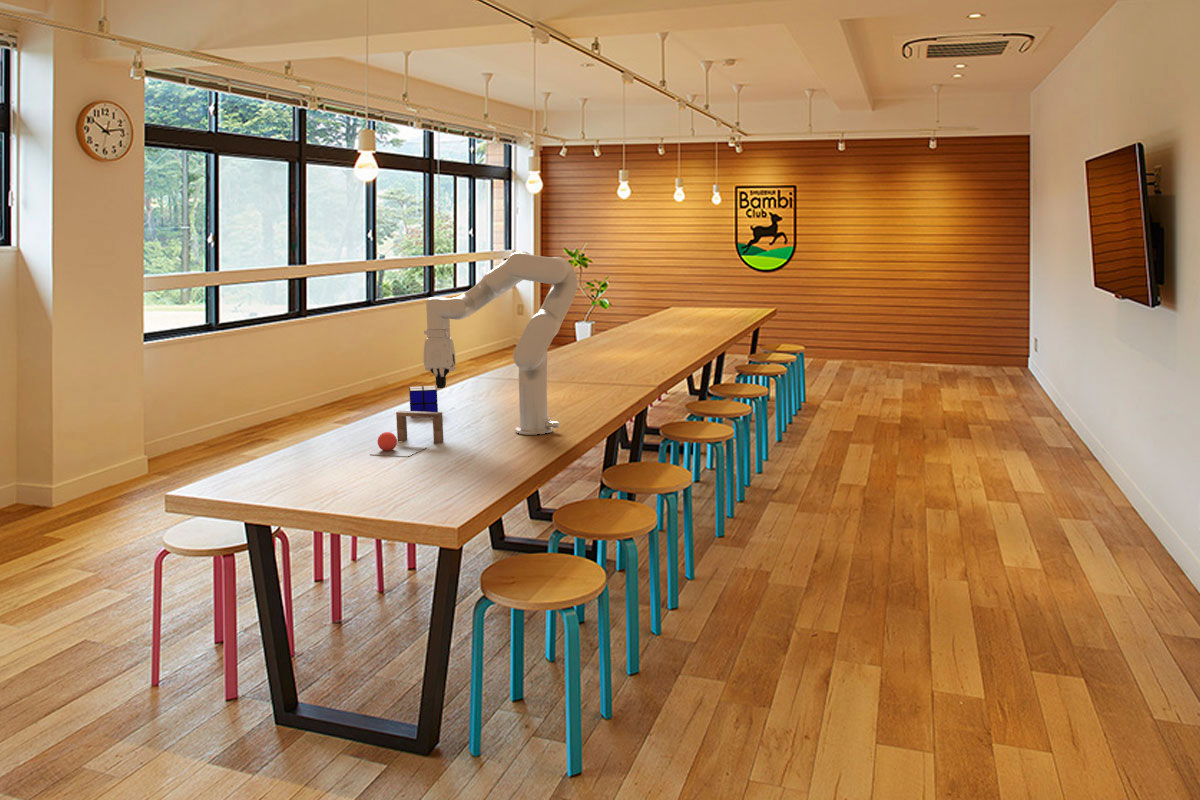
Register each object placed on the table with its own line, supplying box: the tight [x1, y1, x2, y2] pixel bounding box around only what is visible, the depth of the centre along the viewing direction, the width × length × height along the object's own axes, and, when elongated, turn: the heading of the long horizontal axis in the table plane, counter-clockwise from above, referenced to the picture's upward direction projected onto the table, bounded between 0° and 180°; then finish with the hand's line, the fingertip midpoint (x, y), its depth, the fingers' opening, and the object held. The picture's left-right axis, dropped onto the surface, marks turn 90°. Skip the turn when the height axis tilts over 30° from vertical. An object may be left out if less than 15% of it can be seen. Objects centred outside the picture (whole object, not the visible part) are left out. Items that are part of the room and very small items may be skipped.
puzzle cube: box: [408, 385, 439, 412], centre depth 377 cm, size 10×10×10 cm
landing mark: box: [369, 445, 428, 458], centre depth 315 cm, size 13×13×1 cm
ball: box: [377, 431, 398, 451], centre depth 316 cm, size 6×6×6 cm
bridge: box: [395, 410, 444, 444], centre depth 329 cm, size 3×15×10 cm, turn 73°
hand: (441, 387), depth 343 cm, fingers closed
